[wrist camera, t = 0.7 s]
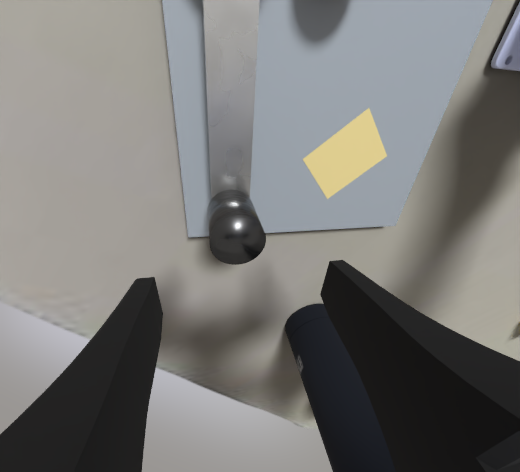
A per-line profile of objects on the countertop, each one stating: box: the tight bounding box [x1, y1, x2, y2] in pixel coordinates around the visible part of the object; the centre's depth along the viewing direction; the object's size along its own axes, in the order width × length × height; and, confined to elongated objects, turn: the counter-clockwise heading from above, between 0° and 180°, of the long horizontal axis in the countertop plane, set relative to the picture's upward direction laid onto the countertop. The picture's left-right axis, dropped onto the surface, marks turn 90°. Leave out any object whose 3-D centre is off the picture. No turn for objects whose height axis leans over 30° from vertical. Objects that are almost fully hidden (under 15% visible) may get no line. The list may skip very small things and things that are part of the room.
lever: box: [202, 0, 266, 264], centre depth 12 cm, size 16×4×5 cm, turn 176°
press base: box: [162, 0, 493, 237], centre depth 14 cm, size 18×20×4 cm
